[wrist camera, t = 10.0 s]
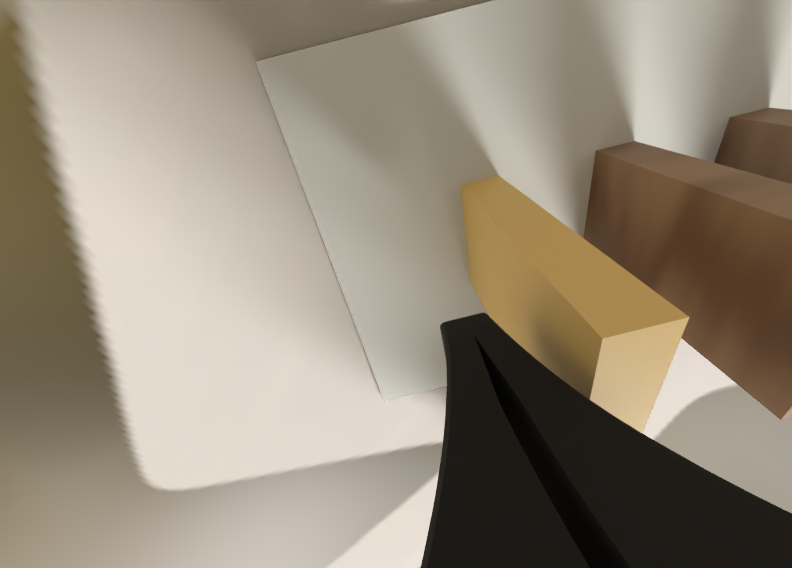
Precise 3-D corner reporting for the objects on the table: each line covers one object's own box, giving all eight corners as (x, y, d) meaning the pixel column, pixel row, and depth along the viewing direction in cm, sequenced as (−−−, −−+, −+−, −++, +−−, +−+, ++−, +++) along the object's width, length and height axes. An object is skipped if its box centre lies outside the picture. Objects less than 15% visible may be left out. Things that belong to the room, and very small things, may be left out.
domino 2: (613, 247, 16) (839, 405, 9) (581, 255, 16) (780, 419, 9) (634, 141, 13) (1000, 240, 6) (595, 150, 13) (911, 262, 6)
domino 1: (502, 275, 16) (633, 454, 9) (470, 282, 16) (575, 468, 9) (498, 175, 13) (689, 317, 6) (460, 185, 13) (602, 338, 6)
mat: (897, 272, 20) (907, 275, 20) (383, 396, 21) (384, 401, 21) (1286, -203, 10) (1318, -212, 10) (258, 61, 11) (254, 61, 10)
